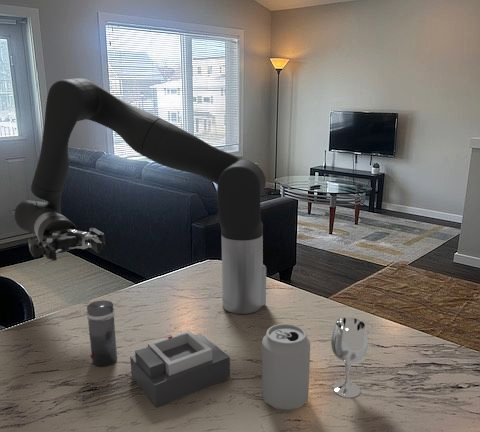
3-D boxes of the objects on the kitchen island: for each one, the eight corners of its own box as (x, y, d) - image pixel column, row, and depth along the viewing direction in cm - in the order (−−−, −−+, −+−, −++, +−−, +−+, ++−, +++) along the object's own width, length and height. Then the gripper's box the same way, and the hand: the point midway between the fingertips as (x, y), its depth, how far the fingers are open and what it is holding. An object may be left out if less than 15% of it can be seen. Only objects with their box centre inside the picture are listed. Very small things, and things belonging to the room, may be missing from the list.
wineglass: (344, 404, 75) (348, 336, 72) (321, 385, 80) (324, 320, 77) (371, 393, 78) (376, 327, 75) (348, 375, 83) (352, 313, 80)
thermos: (112, 350, 91) (108, 298, 88) (121, 361, 88) (117, 307, 85) (87, 358, 89) (82, 304, 86) (95, 370, 85) (90, 314, 82)
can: (306, 417, 73) (309, 346, 69) (258, 410, 74) (258, 341, 71) (309, 387, 80) (312, 322, 77) (265, 382, 81) (266, 318, 78)
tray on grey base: (201, 352, 91) (200, 322, 89) (230, 377, 83) (229, 344, 81) (131, 377, 83) (129, 344, 81) (156, 407, 75) (154, 372, 73)
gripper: (18, 219, 100) (36, 239, 87) (86, 210, 108) (111, 227, 95) (22, 253, 102) (40, 277, 89) (88, 242, 110) (114, 262, 97)
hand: (77, 251), depth 92 cm, fingers open, 8 cm apart
